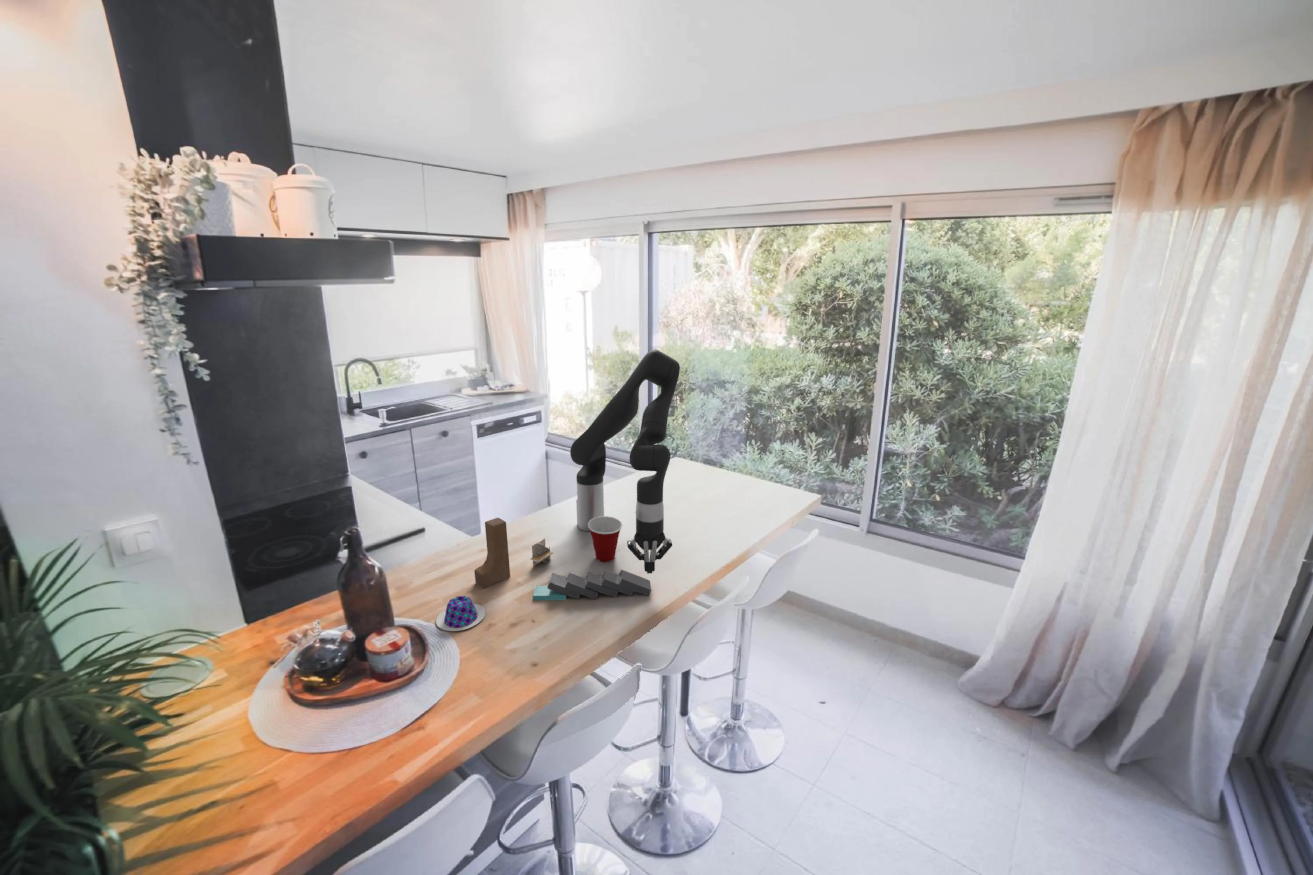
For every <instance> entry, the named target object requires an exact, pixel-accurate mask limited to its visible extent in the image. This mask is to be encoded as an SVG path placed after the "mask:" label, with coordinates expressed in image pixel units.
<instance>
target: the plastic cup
mask: <svg viewBox="0 0 1313 875" xmlns="http://www.w3.org/2000/svg"><path fill="white" fill-rule="evenodd" d="M588 528H589V529H590V531H589V532H590V534H591V535H590V536H591V541H592V544H593V549H594V553H595V557H596V560H597V561H598V562H602V563H609V562H611V561H613V560H614V559H615V556H616V552H617V546H618V541H619V536H620V533H621V532H620V531H621V530H622V528H623V522H622V521H621V520H620V519H618V518H616V517H613V516H608V515H607V516H605V515H604V516H601V517H596V518H593V519H591V520H590V521H589V522H588Z"/></svg>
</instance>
